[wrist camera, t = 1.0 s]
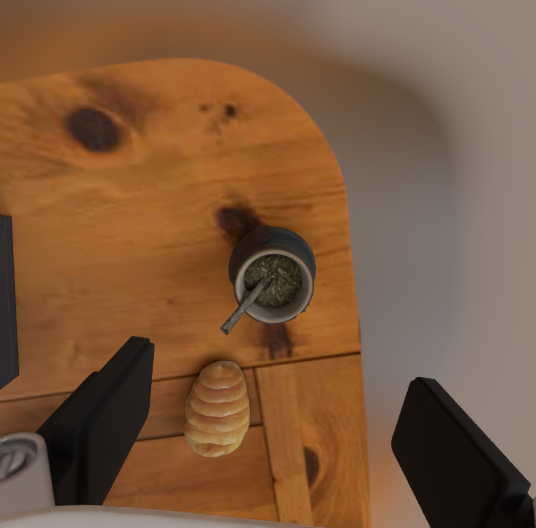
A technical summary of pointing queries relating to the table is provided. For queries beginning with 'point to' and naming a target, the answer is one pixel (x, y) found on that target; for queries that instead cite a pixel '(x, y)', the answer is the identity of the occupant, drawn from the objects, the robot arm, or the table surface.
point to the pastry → (217, 410)
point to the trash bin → (7, 306)
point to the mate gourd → (271, 276)
